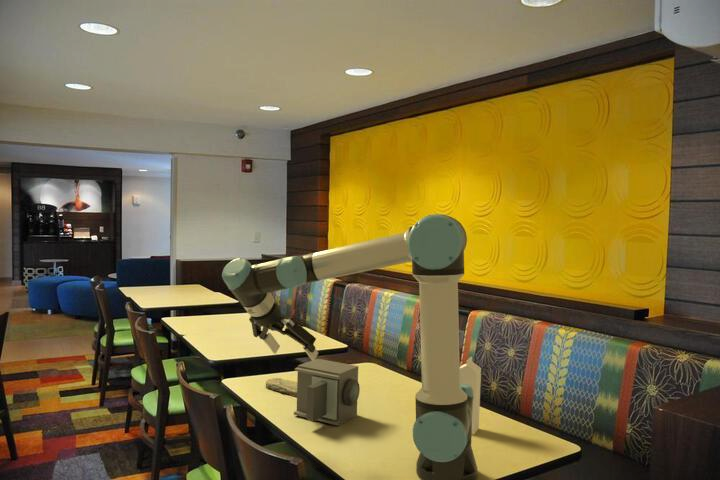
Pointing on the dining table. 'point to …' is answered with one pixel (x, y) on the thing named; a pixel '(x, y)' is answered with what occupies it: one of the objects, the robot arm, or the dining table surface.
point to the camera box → (345, 390)
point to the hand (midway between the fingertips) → (295, 353)
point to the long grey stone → (282, 386)
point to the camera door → (322, 398)
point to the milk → (472, 377)
